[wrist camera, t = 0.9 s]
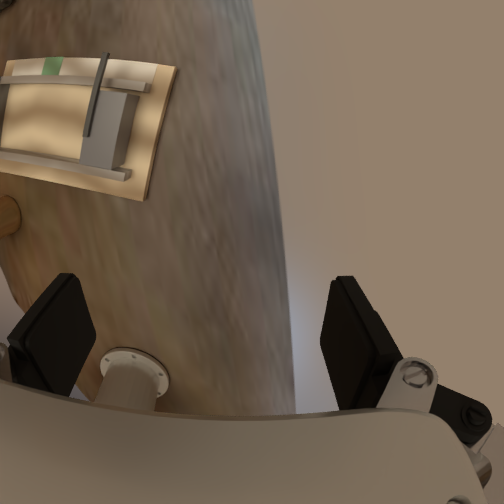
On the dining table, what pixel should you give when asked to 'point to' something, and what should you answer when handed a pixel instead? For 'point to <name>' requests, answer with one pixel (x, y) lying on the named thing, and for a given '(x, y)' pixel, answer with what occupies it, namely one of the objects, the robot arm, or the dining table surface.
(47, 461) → the robot arm
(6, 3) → the stone
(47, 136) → the gauge board
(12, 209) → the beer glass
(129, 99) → the slider
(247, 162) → the dining table surface
